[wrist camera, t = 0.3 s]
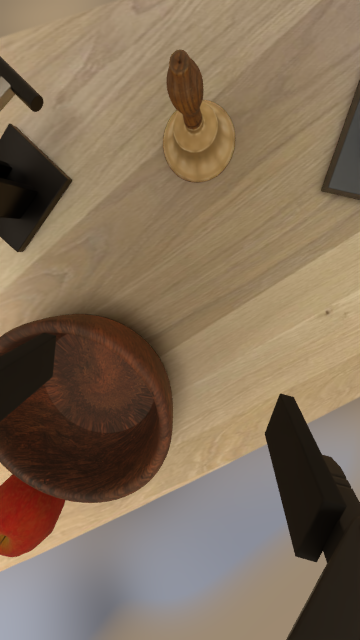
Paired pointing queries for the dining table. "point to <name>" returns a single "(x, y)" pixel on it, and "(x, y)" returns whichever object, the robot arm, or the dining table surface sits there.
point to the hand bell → (195, 125)
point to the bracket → (26, 188)
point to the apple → (25, 516)
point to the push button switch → (347, 156)
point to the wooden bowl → (90, 412)
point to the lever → (17, 88)
